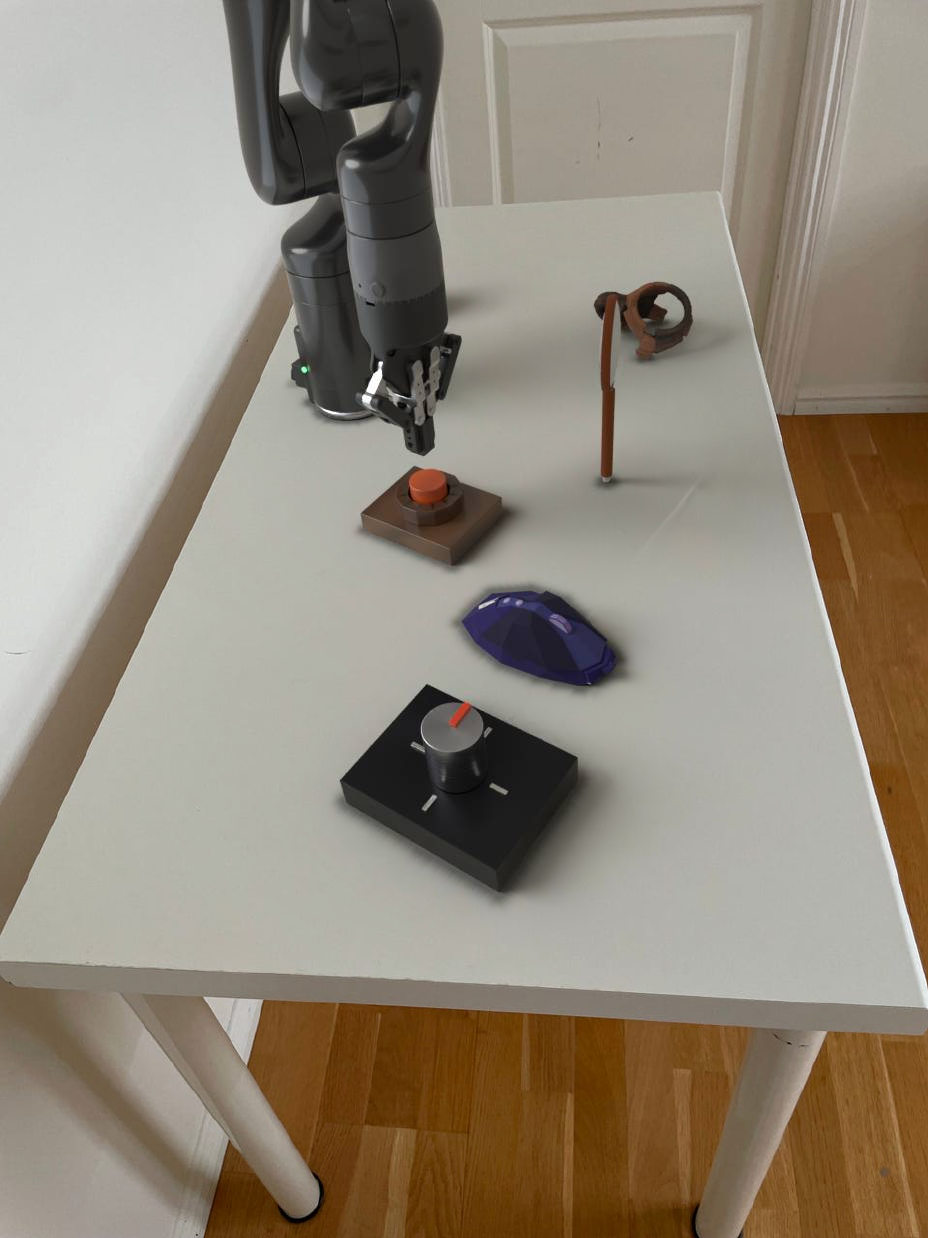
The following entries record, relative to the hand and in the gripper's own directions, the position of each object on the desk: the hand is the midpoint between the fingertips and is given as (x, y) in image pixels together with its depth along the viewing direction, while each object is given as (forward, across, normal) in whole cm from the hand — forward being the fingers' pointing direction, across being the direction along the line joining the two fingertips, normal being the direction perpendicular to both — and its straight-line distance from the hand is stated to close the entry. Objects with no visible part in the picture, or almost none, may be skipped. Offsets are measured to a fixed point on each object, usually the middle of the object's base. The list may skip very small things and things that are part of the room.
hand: (421, 450), depth 89 cm
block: (+9, 0, 0) cm, 9 cm away
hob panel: (+8, +25, +22) cm, 34 cm away
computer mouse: (+9, +8, +18) cm, 22 cm away
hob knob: (+5, +25, +21) cm, 33 cm away
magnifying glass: (+9, -14, +12) cm, 21 cm away
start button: (+5, 0, 0) cm, 5 cm away
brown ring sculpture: (+9, -41, +2) cm, 42 cm away
